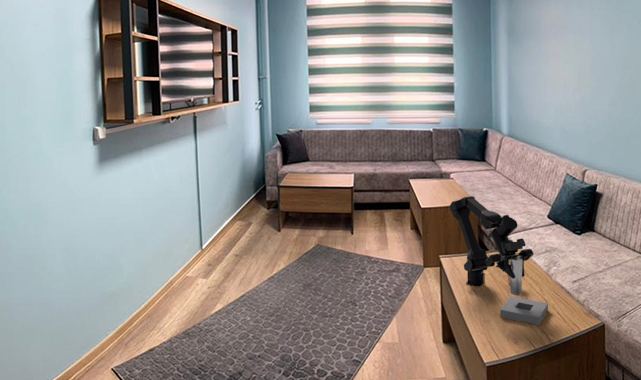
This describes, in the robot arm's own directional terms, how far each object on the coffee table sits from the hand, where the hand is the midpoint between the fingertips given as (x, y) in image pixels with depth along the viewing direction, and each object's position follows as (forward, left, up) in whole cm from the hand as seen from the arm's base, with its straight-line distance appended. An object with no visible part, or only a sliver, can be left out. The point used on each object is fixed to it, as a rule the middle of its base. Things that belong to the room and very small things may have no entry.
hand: (518, 277), depth 198 cm
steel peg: (-1, +1, -7) cm, 7 cm away
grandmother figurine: (-9, +25, -14) cm, 30 cm away
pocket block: (+3, -2, -13) cm, 14 cm away
